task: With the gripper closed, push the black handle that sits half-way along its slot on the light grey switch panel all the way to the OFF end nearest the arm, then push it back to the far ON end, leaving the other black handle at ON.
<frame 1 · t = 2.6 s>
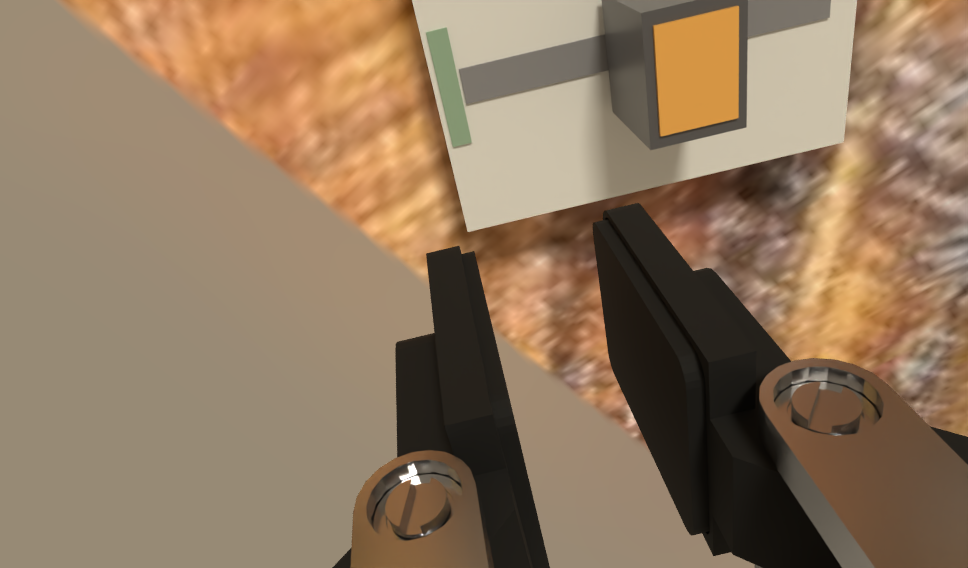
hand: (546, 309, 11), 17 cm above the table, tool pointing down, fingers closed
tripped breaker handle: (672, 58, 21), point 5 cm above the table, slide at 0.0 cm
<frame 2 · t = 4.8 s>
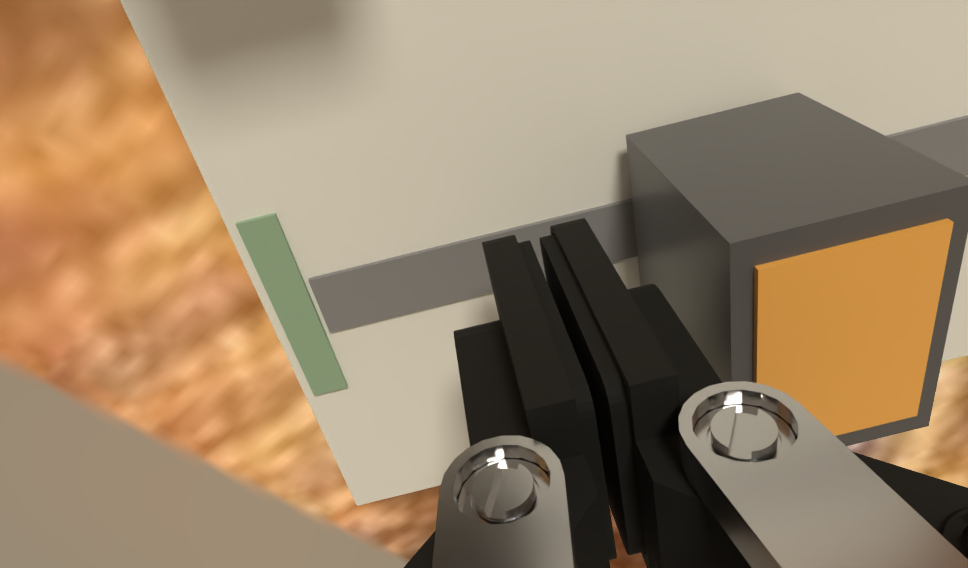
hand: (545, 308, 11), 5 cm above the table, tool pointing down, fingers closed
tripped breaker handle: (769, 272, 11), point 5 cm above the table, slide at -1.1 cm, touching gripper
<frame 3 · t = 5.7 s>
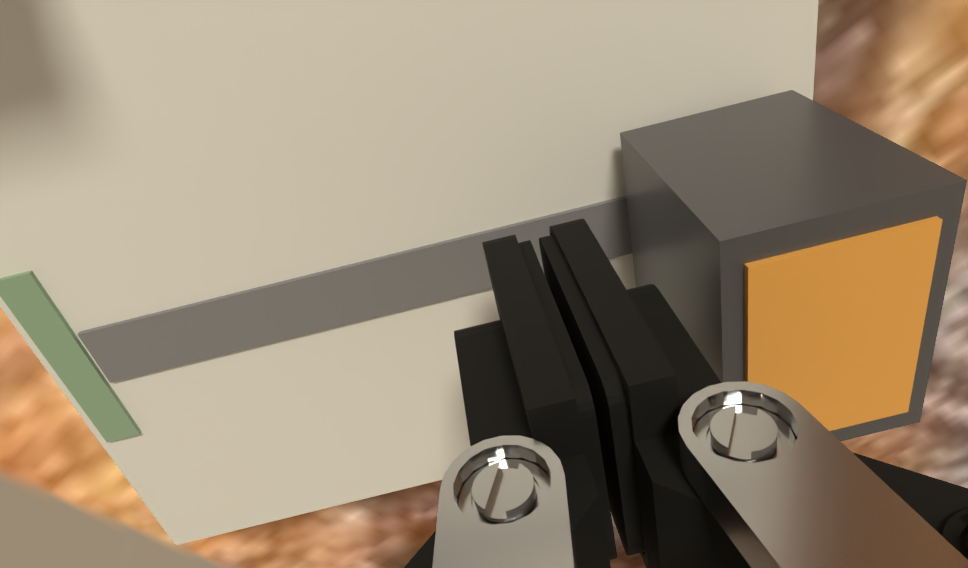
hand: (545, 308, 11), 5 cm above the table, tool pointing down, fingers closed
tripped breaker handle: (762, 269, 11), point 5 cm above the table, slide at -5.4 cm, touching gripper
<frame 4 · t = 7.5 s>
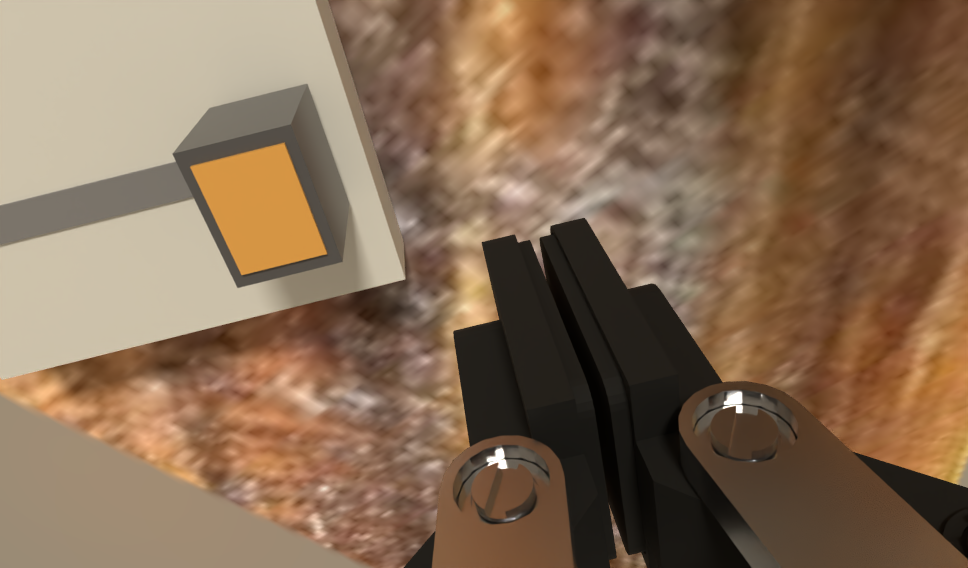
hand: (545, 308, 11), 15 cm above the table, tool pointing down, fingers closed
tripped breaker handle: (273, 182, 19), point 5 cm above the table, slide at -5.1 cm
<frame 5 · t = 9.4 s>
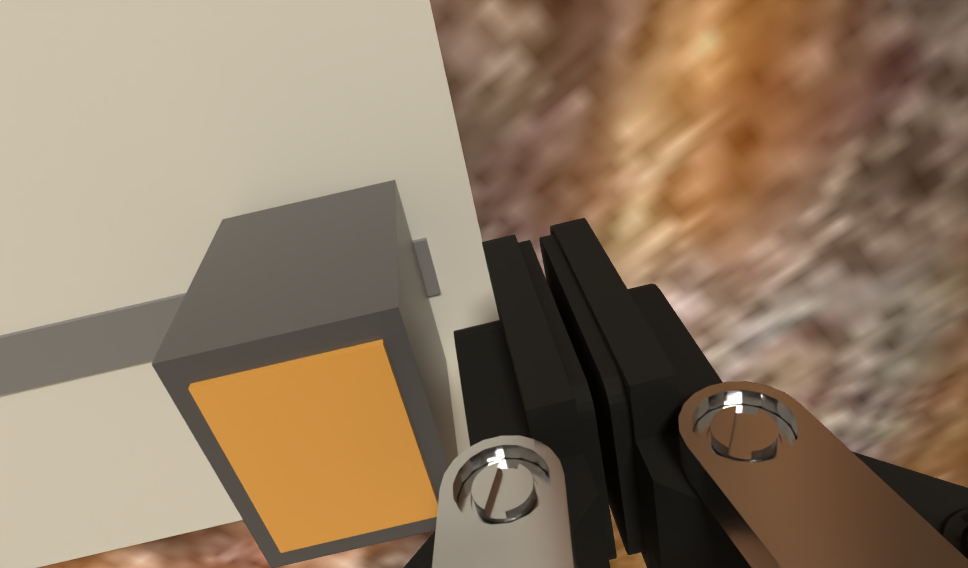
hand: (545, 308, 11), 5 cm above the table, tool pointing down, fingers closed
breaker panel: (13, 13, 12), on the table
tripped breaker handle: (336, 363, 11), point 5 cm above the table, slide at -4.8 cm, touching gripper
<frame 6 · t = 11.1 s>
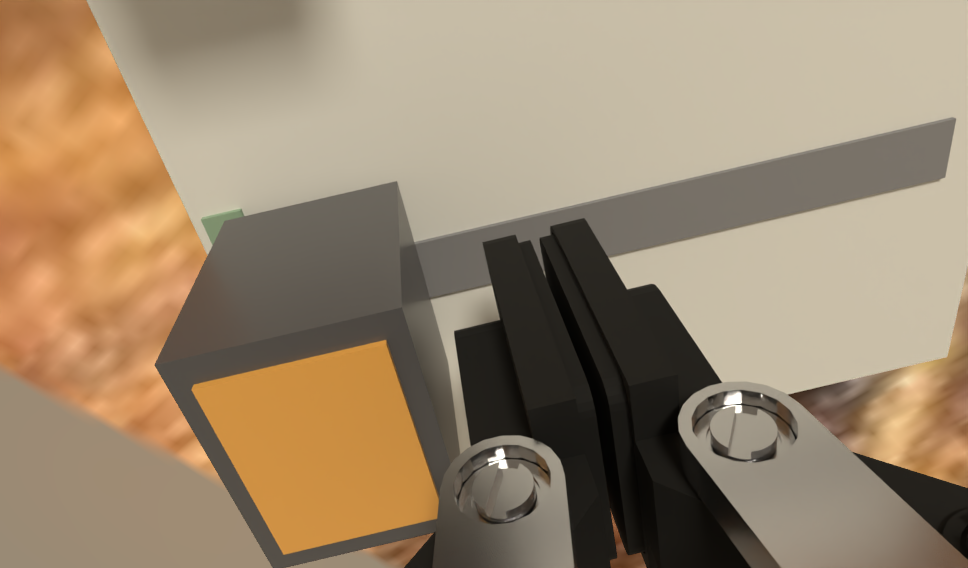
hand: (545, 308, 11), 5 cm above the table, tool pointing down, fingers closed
tripped breaker handle: (339, 365, 11), point 5 cm above the table, slide at 5.3 cm, touching gripper
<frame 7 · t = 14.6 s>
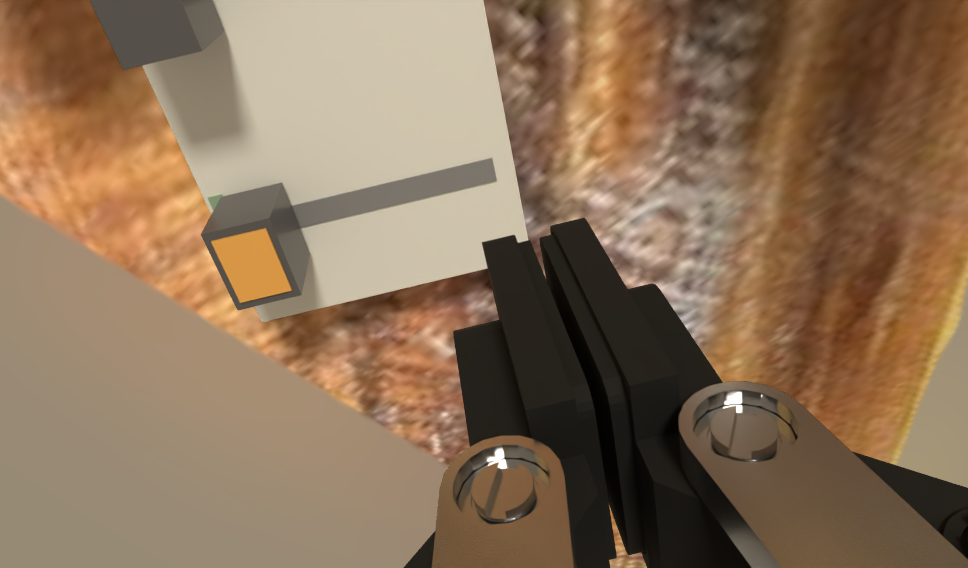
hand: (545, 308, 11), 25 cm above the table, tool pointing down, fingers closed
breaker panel: (336, 74, 33), on the table
tripped breaker handle: (260, 245, 31), point 5 cm above the table, slide at 5.1 cm
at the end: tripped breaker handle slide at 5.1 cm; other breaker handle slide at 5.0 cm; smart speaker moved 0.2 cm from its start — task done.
